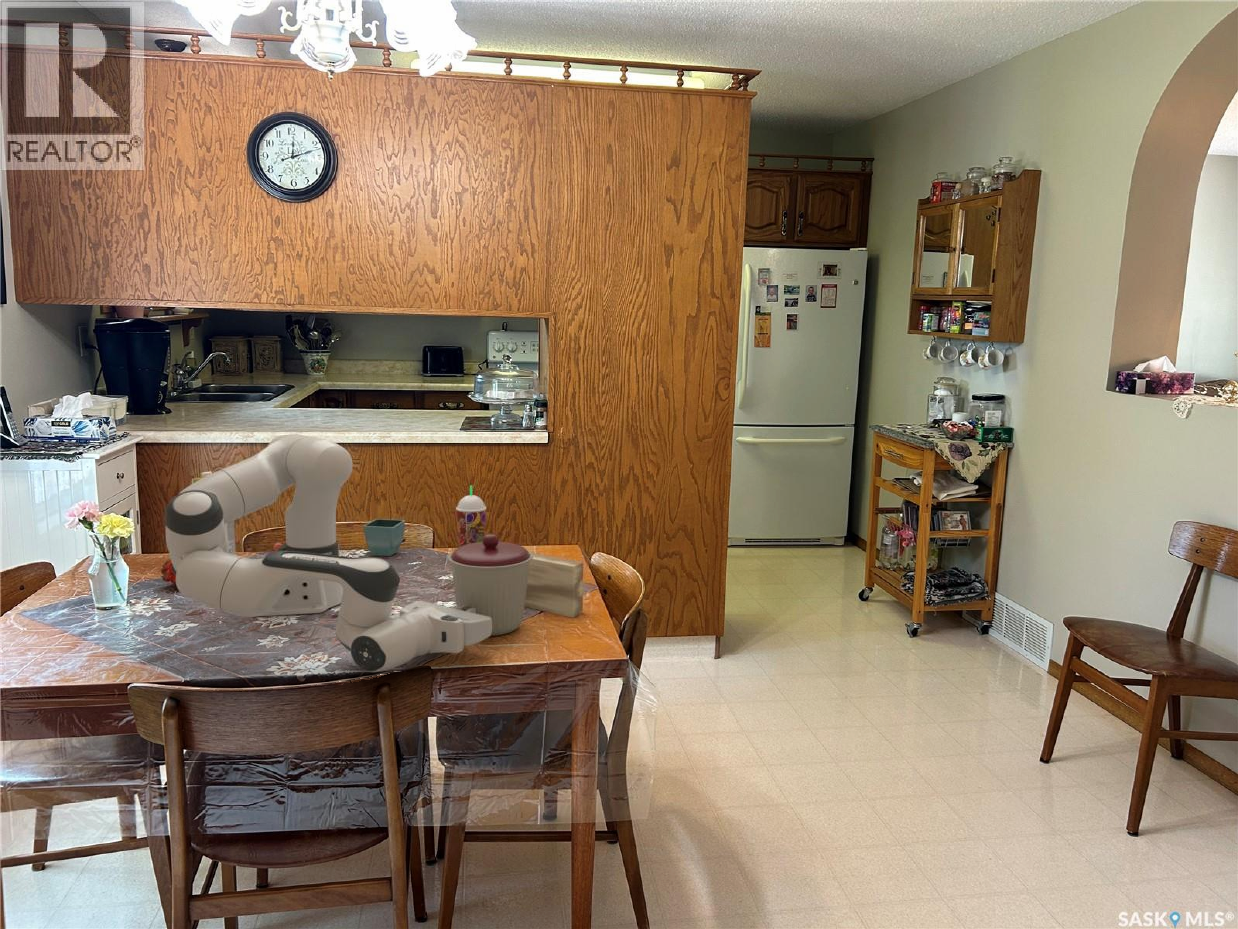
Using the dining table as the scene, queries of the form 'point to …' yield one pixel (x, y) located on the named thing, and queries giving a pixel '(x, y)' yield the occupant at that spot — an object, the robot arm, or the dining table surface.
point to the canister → (492, 580)
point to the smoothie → (470, 519)
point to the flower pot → (384, 536)
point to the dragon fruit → (168, 572)
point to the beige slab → (555, 585)
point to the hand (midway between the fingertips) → (470, 610)
